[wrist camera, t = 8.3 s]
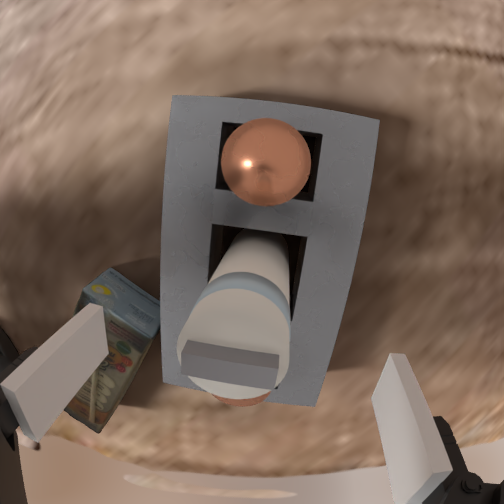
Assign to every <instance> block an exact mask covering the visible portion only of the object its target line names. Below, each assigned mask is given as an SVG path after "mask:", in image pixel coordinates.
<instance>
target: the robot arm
mask: <svg viewBox="0 0 504 504" xmlns="http://www.w3.org/2000/svg"><path fill="white" fill-rule="evenodd" d="M108 354H109V352H108V345H107V338H106V330H105V322H104V313H103V306H100V305H96V304H92V303H89V304H88V305H87V306H86V307H84V308H83V309H82V310H81V311H80V312H79V313H77V314H76V315H75V316H74V317H73V318H72V319H70V320H69V321H68V322H67V323H66V324H65V325H64V326H62V327H61V328H60V329H59V330H58V331H57V332H56V333H55V334H53V335H52V336H51V337H50V338H49V339H48V340H47V341H46V342H45V343H43V344H42V345H41V346H40V347H39V348H38V347H36V346H35V347H32V348H30V349H28V350H26V351H24V352H23V353H22V354H21V355H20V356H19V354H18V353H17V351H16V349H15V347H14V346H13V344H12V342H11V341H10V339H9V338H8V337H7V335H6V334H5V333H4V331H3V330H2V329H1V328H0V504H28V503H27V498H26V493H25V488H24V482H23V476H22V470H21V464H20V455H19V446H18V436H17V433H16V431H15V430H16V429H17V427H18V426H20V428H21V430H22V432H23V434H24V435H25V436H27V437H29V438H31V439H32V440H34V441H36V442H39V441H40V440H41V438H42V437H43V436H44V434H45V433H46V432H47V430H48V429H49V428H50V426H51V425H52V424H53V423H54V421H55V420H56V419H57V417H58V416H59V415H60V414H61V412H62V411H63V410H64V408H65V407H66V406H67V405H68V403H69V402H70V401H71V399H72V398H73V397H74V396H75V394H76V393H77V392H78V391H79V389H80V388H81V387H82V386H83V384H84V383H85V382H86V381H87V379H88V378H89V377H90V376H91V374H92V373H93V372H94V371H95V370H96V368H97V367H98V366H99V365H100V363H101V362H102V361H103V360H104V358H105V357H106V356H107V355H108ZM371 400H372V404H373V408H374V412H375V416H376V420H377V424H378V429H379V433H380V437H381V442H382V446H383V451H384V455H385V460H386V465H387V469H388V475H389V480H390V485H391V491H392V496H393V501H394V504H504V480H503V481H502V482H501V483H500V484H490V483H483V481H482V479H481V478H480V477H479V476H477V475H476V474H475V473H471V472H469V471H468V470H467V467H466V465H465V462H464V459H463V457H462V454H461V452H460V449H459V447H458V444H456V440H455V437H454V436H453V432H452V430H451V428H450V425H449V424H448V423H447V422H446V421H445V420H444V419H443V418H442V416H436V417H432V414H431V412H430V409H429V407H428V405H427V402H426V400H425V397H424V395H423V393H422V391H421V388H420V386H419V384H418V381H417V379H416V377H415V375H414V373H413V370H412V368H411V366H410V364H409V362H408V360H407V357H406V355H405V354H399V353H390V354H389V356H388V359H387V361H386V364H385V366H384V369H383V371H382V374H381V376H380V379H379V381H378V383H377V386H376V388H375V390H374V393H373V395H372V397H371Z"/></svg>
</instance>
